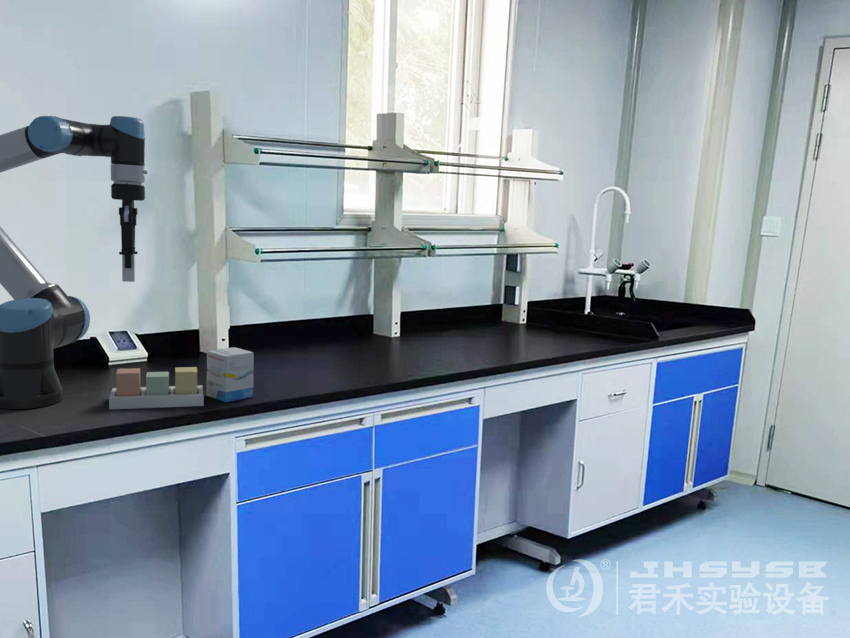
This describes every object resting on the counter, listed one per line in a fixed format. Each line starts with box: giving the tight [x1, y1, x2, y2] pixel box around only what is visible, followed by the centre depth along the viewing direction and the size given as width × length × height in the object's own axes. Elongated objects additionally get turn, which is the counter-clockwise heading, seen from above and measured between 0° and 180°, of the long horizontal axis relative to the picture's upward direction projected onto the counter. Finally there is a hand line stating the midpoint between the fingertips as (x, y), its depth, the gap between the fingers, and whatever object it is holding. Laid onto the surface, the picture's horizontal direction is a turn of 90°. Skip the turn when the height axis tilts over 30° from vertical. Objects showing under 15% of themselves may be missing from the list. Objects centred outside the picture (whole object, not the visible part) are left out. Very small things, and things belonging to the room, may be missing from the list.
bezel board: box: [108, 384, 205, 410], centre depth 179 cm, size 21×10×2 cm, turn 108°
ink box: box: [206, 346, 255, 403], centre depth 187 cm, size 9×8×12 cm
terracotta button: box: [115, 367, 141, 396], centre depth 177 cm, size 5×5×6 cm
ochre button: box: [174, 366, 198, 394], centre depth 181 cm, size 5×5×6 cm
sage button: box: [145, 371, 170, 395], centre depth 179 cm, size 5×5×6 cm
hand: (128, 281), depth 183 cm, fingers closed
